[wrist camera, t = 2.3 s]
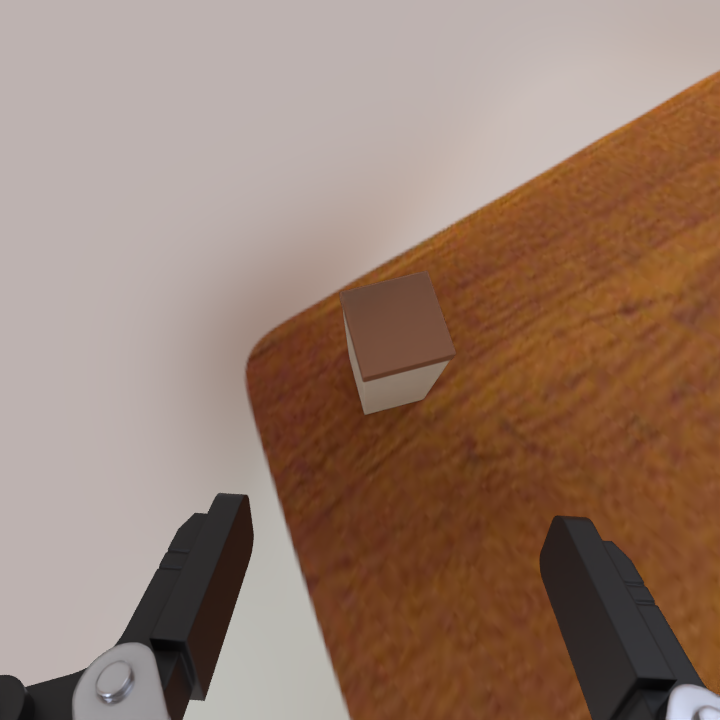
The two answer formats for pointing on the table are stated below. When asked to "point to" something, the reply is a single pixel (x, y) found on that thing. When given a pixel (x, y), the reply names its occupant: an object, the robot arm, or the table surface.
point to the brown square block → (395, 340)
